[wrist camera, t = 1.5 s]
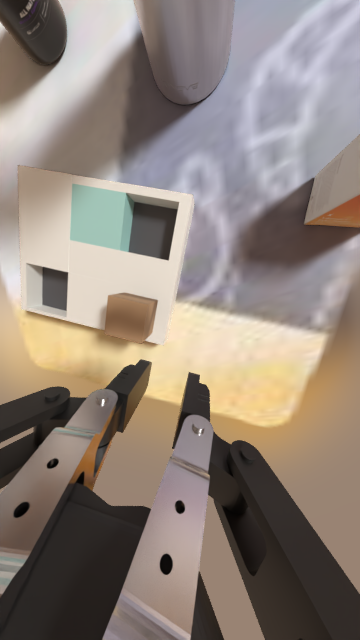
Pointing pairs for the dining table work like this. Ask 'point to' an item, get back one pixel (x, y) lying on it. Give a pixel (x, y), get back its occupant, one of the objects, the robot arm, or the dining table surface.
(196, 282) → the dining table surface
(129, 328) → the walnut block
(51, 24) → the supplement bottle
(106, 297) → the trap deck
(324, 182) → the small box
